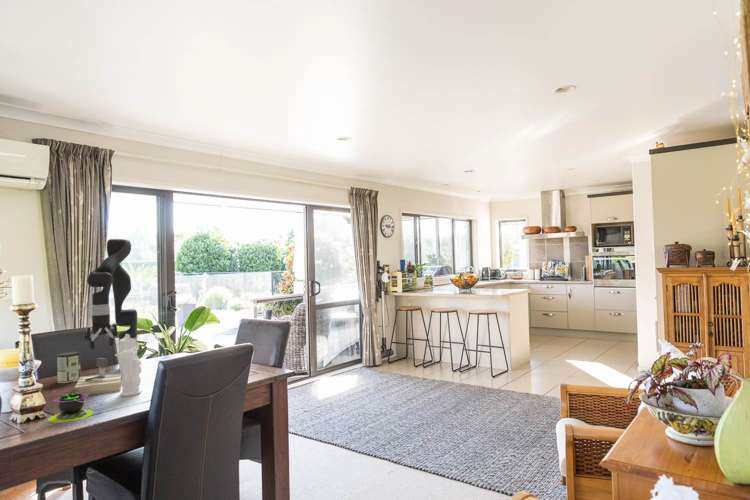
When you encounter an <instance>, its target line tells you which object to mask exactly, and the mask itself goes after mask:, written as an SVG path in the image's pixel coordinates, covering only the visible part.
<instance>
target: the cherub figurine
mask: <svg viewBox="0 0 750 500" xmlns="http://www.w3.org/2000/svg"><path fill="white" fill-rule="evenodd" d="M139 349H140V344H139V343H138V342H137V345H136V346H134V347H132V348H131V349H130V350H124V351H123V352H121V353H119V352H118V353H116V354H114V356H115V357H117V358H118V359H119V358H121V361H122V363H123V368H122V375H123V377H121V391H120V393H119V394H120V396H121V397H133V396H137V395H140V394H142V390H141V389H140V384H141V376H140V374H141V373H142V367H141V365H142V360H140V358H139V357H138V355H137V356H136V355H135V354H136V353H137V354H138V350H139Z"/></svg>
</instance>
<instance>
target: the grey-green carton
mask: <svg viewBox="0 0 750 500" xmlns="http://www.w3.org/2000/svg"><path fill="white" fill-rule="evenodd" d="M56 367H57V369H56V370H57V371H56V372H57V373H56V374H57V383H58V384H68V383H69V382H70V383H74V382H78V380H79V378H80V377H82V376H81V351H80V350H79V351H77V350H75V351H65V352H60V353H57V354H56ZM70 383H69V384H70Z"/></svg>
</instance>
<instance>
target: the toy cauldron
mask: <svg viewBox="0 0 750 500" xmlns="http://www.w3.org/2000/svg"><path fill="white" fill-rule="evenodd" d="M75 386H76V385H74V386H71V387H73V390H74V391H75ZM76 387H77V386H76ZM64 389H65V390H66V389H68V387H65V388H64ZM65 390H64V391H61V392H59V395H62V396H60V397H57V398H55V399H53V401H54V402H56V403H57V408H58V410H59V413H56V414H54V415H52V416H50V417H48V419H47V420H48V422H50V423H55V424H56V423H68V422H74V421H78V420H83V419H85V418H88V417H90V416H92V415H93V414H94V411H93V410H92V409H85V408H84V405H85V402H86V400H85V398H87V397H89V395H87V394H86V395H84V394H75V392H73V393H70V394H69V393H66V394H61V393H63V392H64V393H65ZM80 390H81V389H80ZM81 392H82V391H81ZM78 393H79V392H78ZM83 395H84V396H83ZM83 408H84V409H83Z"/></svg>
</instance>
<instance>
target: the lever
mask: <svg viewBox="0 0 750 500" xmlns="http://www.w3.org/2000/svg"><path fill="white" fill-rule="evenodd" d="M108 360H109V359H108V358H107V357H106V358H104V357H97V358H96V362H95V363H96V368H98V371H99V372H98V373H99V374H98V375H99V376H97V377H93V378H89V379H85V381H87V380H91V379H96V378H104V377H105V374H106V368H108V367H109V365H108V363H109V361H108Z"/></svg>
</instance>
